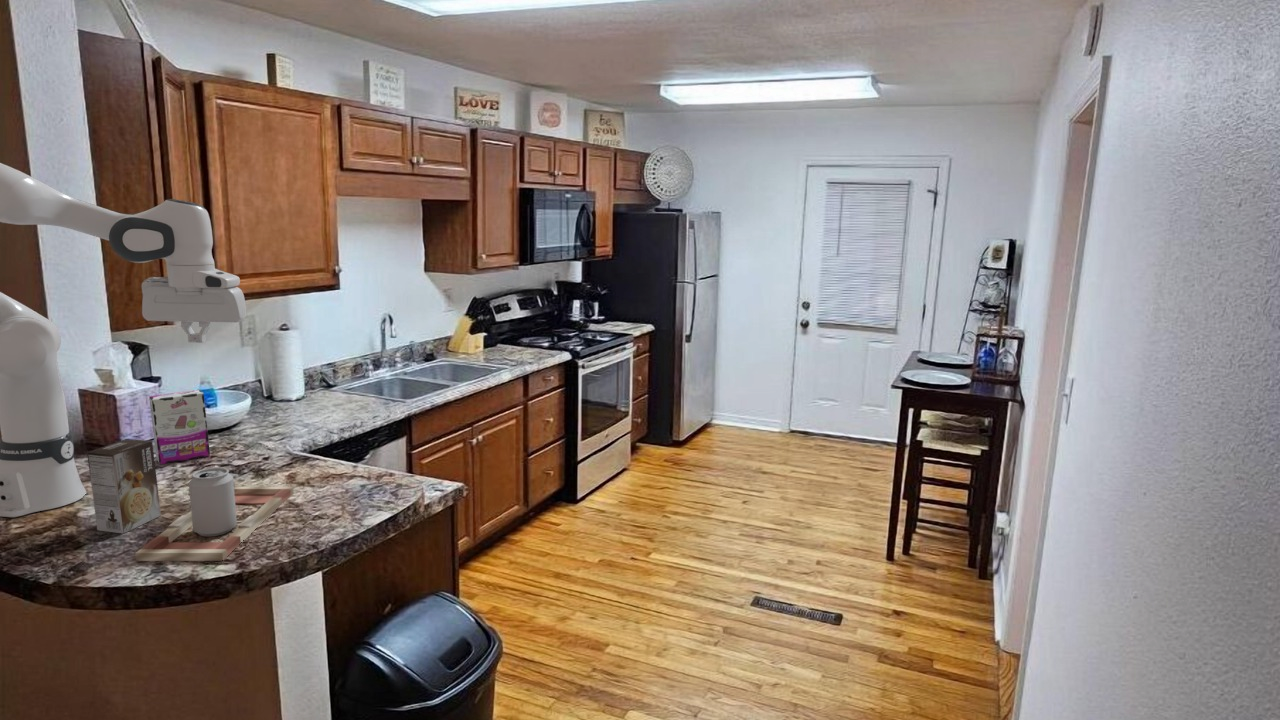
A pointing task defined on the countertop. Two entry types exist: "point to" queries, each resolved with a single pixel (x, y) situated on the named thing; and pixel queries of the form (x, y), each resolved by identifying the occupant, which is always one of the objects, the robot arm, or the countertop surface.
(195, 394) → the candy bar box
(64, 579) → the countertop surface
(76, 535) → the countertop surface
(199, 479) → the can
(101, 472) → the coffee box
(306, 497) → the countertop surface
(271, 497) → the flat rectangular frame
